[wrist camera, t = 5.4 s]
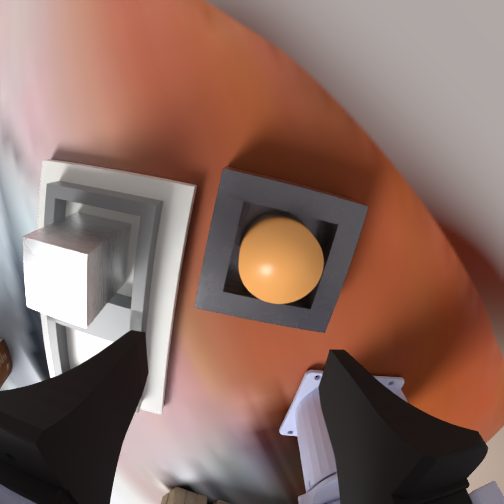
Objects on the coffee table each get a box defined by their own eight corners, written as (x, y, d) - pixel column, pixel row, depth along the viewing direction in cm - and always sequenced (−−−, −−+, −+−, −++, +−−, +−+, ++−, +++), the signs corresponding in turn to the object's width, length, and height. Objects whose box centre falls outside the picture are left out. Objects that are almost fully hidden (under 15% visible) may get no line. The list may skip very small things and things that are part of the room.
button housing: (351, 198, 19) (368, 206, 16) (315, 309, 21) (324, 332, 18) (226, 166, 18) (223, 168, 15) (201, 286, 21) (194, 307, 18)
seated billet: (131, 223, 18) (87, 254, 13) (125, 281, 19) (86, 328, 14) (77, 211, 18) (22, 236, 12) (74, 268, 19) (26, 306, 13)
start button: (321, 221, 18) (334, 234, 16) (301, 288, 20) (309, 310, 17) (249, 204, 18) (249, 214, 15) (232, 273, 19) (230, 294, 16)
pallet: (197, 185, 19) (190, 189, 16) (163, 406, 24) (157, 426, 22) (50, 159, 18) (29, 161, 15) (54, 371, 23) (43, 387, 21)
